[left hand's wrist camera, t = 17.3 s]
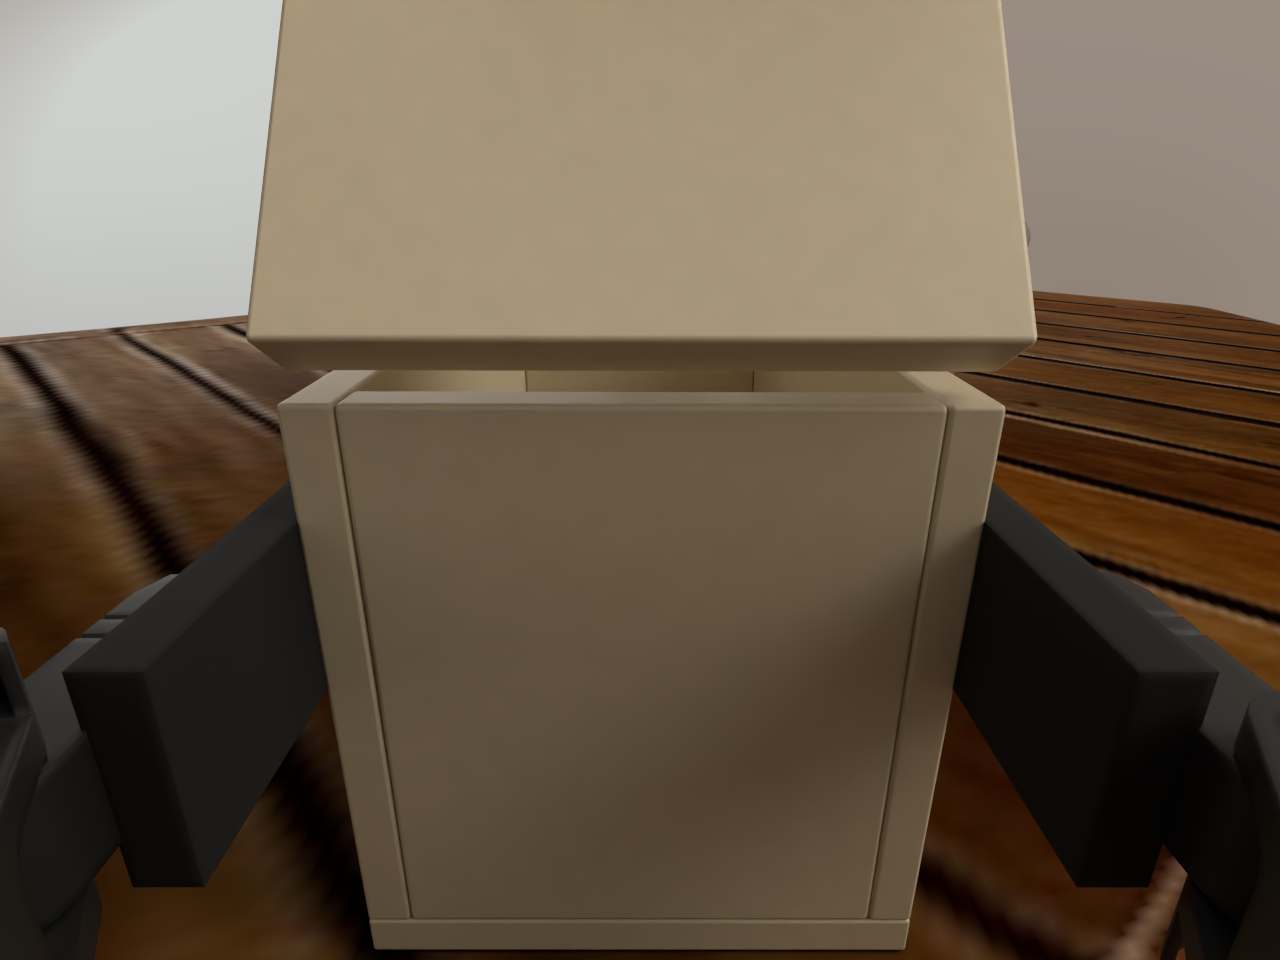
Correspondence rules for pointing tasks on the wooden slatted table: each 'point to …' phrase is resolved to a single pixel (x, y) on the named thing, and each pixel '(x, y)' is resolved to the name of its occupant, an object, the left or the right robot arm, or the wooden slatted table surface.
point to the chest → (640, 645)
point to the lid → (641, 187)
